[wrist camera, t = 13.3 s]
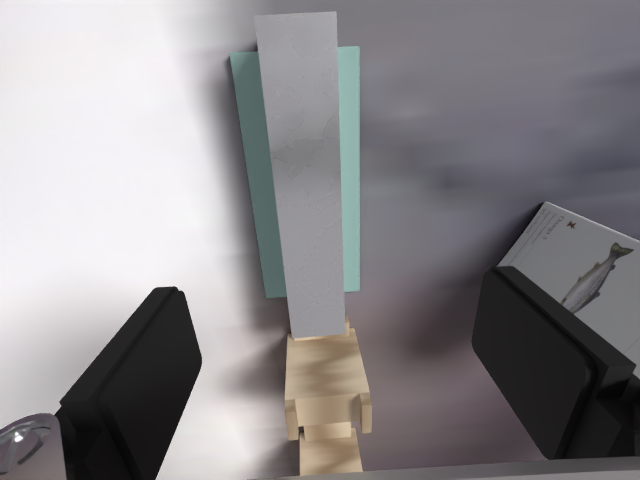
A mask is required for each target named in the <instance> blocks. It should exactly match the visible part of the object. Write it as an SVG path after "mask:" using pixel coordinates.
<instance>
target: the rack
mask: <svg viewBox="0 0 640 480" xmlns="http://www.w3.org/2000/svg"><path fill="white" fill-rule="evenodd" d="M285 417H286V424H287V431H288V438H289V441H290V440H298V427H300V426H304V432H302V433H300V476H305V475H320V474H335V473H350V472H363V470H362V465H361V459H360V453H359V447H358V441H357V436H356V430H355V428H351V422H353V421H360V426H361V431H362V433H371V428H372V402H371V398H370V391H369V387H368V383H367V379H366V375H365V371H364V367H363V362H362V358H361V354H360V350H359V346H358V342H357V338H356V334H355V330H354V328H351V329H349V320H348V316H345V334H339V335H327V336H316V337H304V338H292V334H288V340H287V361H286V383H285Z"/></svg>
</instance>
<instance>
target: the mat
mask: <svg viewBox="0 0 640 480" xmlns="http://www.w3.org/2000/svg"><path fill="white" fill-rule="evenodd" d="M337 50H338V87H339V123H340V160H341V196H342V233H343V270H344V292H352V291H360V181H359V46H352V47H337ZM229 54H230V60H231V67H232V74H233V80H234V87H235V94H236V101H237V107H238V114H239V121H240V127H241V134H242V141H243V148H244V154H245V161H246V168H247V174H248V181H249V188H250V195H251V201H252V208H253V215H254V221H255V228H256V235H257V241H258V248H259V255H260V262H261V268H262V275H263V282H264V288H265V295H266V298H278V297H287V291H286V283H285V274H284V266H283V257H282V249H281V240H280V232H279V223H278V215H277V206H276V198H275V189H274V181H273V172H272V164H271V155H270V147H269V138H268V130H267V122H266V113H265V105H264V96H263V88H262V79H261V71H260V62H259V54H258V51H255V52H236V53H229Z"/></svg>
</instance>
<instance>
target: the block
mask: <svg viewBox="0 0 640 480" xmlns="http://www.w3.org/2000/svg"><path fill="white" fill-rule="evenodd" d="M254 20H255V28H256V37H257V45H258V54H259V62H260V71H261V79H262V88H263V96H264V105H265V113H266V122H267V130H268V138H269V147H270V155H271V164H272V172H273V181H274V189H275V198H276V206H277V215H278V223H279V232H280V240H281V249H282V257H283V266H284V274H285V283H286V291H287V300H288V308H289V317H290V325H291V334H292V338H304V337H316V336H327V335H339V334H345V306H344V270H343V233H342V196H341V160H340V123H339V87H338V50H337V14H336V12H316V13H296V14H277V15H257V16H254Z"/></svg>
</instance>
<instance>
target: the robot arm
mask: <svg viewBox="0 0 640 480" xmlns="http://www.w3.org/2000/svg"><path fill="white" fill-rule="evenodd" d="M472 346H473V349H474V351H475V353H476V355H477V356H478V358H479V359H480V361H481V362H482V364H483V365H484V367H485V368H486V370H487V371H488V373H489V374H490V376H491V377H492V379H493V380H494V382H495V383H496V385H497V386H498V388H499V389H500V391H501V392H502V394H503V395H504V397H505V398H506V400H507V401H508V403H509V404H510V406H511V407H512V409H513V410H514V412H515V414H516V415H517V417H518V418H519V420H520V421H521V423H522V424H523V426H524V427H525V429H526V430H527V432H528V433H529V435H530V436H531V438H532V439H533V441H534V442H535V444H536V445H537V447H538V448H539V450H540V451H541V453H542V454H543V455H544V456H545V457H546V458H547V459H549V460H542V461H525V462H508V463H492V464H475V465H458V466H442V467H426V468H411V469H395V470H380V471H365V472H350V473H335V474H320V475H305V476H290V477H276V478H263V479H249V480H640V379H639V378H638V377H637V376H636V375H634V374H633V372H634V370H635V368H636V364H635V363H634V362H632V361H631V360H630V359H629V358H627V357H626V356H625V355H624V354H622V353H621V352H620V351H619V350H617V349H616V348H615V347H614V346H612V345H611V344H610V343H609V342H607V341H606V340H605V339H604V338H602V337H601V336H600V335H599V334H597V333H596V332H595V331H594V330H593V329H591V328H590V327H589V326H588V325H586V324H585V323H584V322H583V321H581V320H580V319H579V318H578V317H576V316H575V315H574V314H573V313H571V312H570V311H569V310H568V309H566V308H565V307H564V306H563V305H561V304H560V303H559V302H558V301H556V300H555V299H554V298H553V297H551V296H550V295H549V294H548V293H546V292H545V291H544V290H543V289H541V288H540V287H539V286H538V285H536V284H535V283H534V282H533V281H532V280H530V279H529V278H528V277H527V276H525V275H524V274H523V273H522V272H520V271H519V270H518V269H517V268H515V267H514V266H498V267H492V268H490V270H489V272H486V273H485V274H484V276H483V281H482V287H481V292H480V298H479V303H478V308H477V314H476V319H475V325H474V330H473V335H472ZM201 365H202V357H201V353H200V349H199V345H198V342H197V338H196V334H195V331H194V327H193V323H192V320H191V316H190V312H189V309H188V305H187V301H186V298H185V294H184V292H183V291H179V290H178V288H177V287H175V286H173V287H157V288H155V289H153V290H152V292H151V293H150V294H149V295H148V296H147V298H146V299H145V300H144V301H143V302H142V304H141V305H140V306H139V307H138V308H137V310H136V311H135V312H134V313H133V314H132V316H131V317H130V318H129V319H128V320H127V322H126V323H125V324H124V325H123V326H122V328H121V329H120V330H119V331H118V332H117V334H116V335H115V336H114V337H113V338H112V339H111V341H110V342H109V343H108V344H107V345H106V347H105V348H104V349H103V350H102V351H101V353H100V354H99V355H98V356H97V357H96V359H95V360H94V361H93V362H92V363H91V365H90V366H89V367H88V368H87V369H86V371H85V372H84V373H83V374H82V375H81V377H80V378H79V379H78V380H77V381H76V383H75V384H74V385H73V386H72V387H71V389H70V390H69V391H68V392H67V393H66V395H65V396H64V397H63V398H62V399H61V401H60V404H61V408H60V409H59V410H58V411H57V412H56V414H55V415H52V414H47V413H40V414H35V415H31V416H27V417H25V418H22V419H20V420H18V421H15V422H13V423H11V424H10V425H8V426H6V427H4V428H3V429H1V430H0V480H155V479H156V477H157V475H158V472H159V470H160V467H161V465H162V462H163V460H164V457H165V455H166V453H167V450H168V448H169V445H170V443H171V440H172V438H173V435H174V433H175V430H176V428H177V426H178V423H179V421H180V418H181V416H182V413H183V411H184V408H185V406H186V404H187V401H188V399H189V396H190V394H191V391H192V389H193V386H194V384H195V381H196V379H197V377H198V374H199V372H200V369H201Z"/></svg>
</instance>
